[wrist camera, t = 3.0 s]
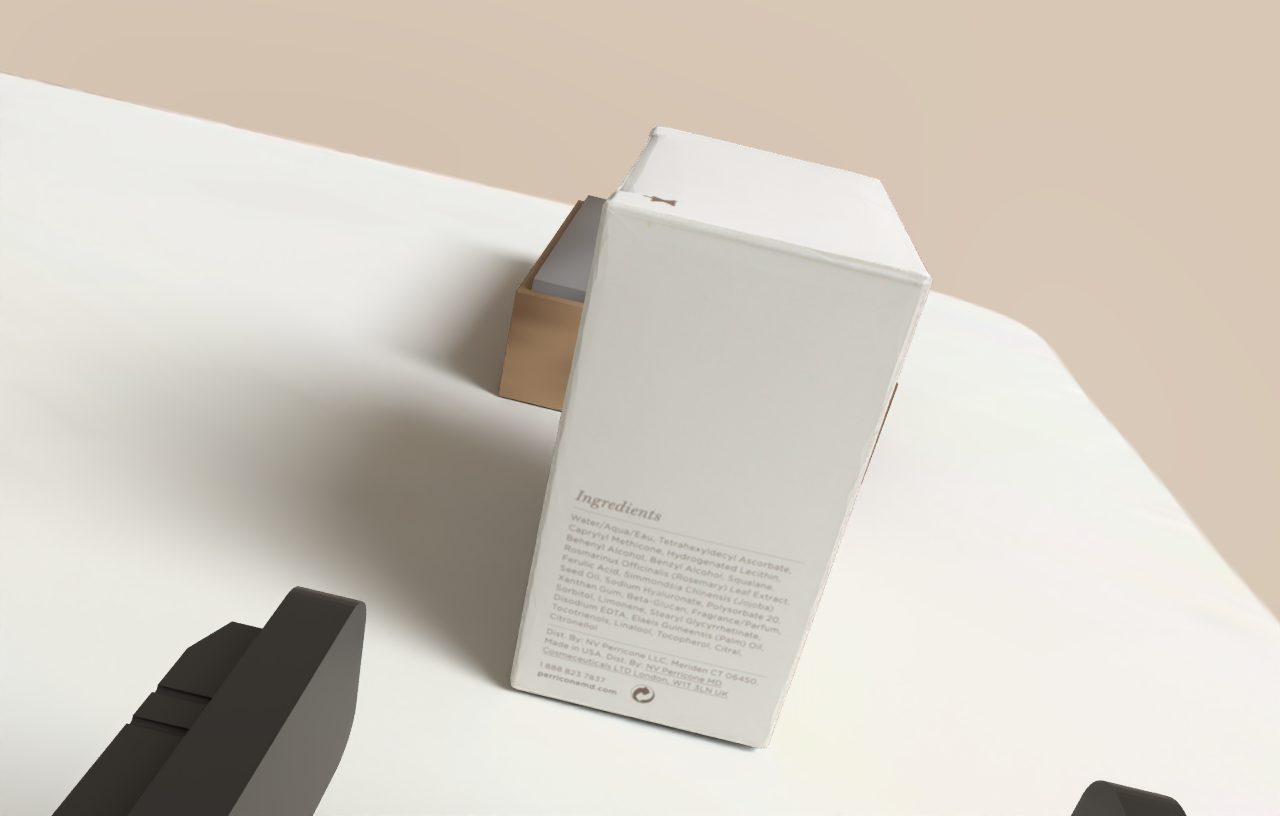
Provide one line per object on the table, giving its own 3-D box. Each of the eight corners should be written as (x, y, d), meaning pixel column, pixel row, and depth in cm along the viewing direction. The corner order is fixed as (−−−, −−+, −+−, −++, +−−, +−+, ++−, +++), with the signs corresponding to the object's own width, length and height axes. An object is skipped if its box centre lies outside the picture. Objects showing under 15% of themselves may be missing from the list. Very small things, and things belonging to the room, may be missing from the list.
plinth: (498, 395, 32) (518, 279, 30) (563, 281, 43) (580, 190, 41) (861, 484, 32) (902, 373, 30) (834, 347, 43) (863, 259, 41)
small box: (766, 762, 20) (943, 280, 16) (500, 694, 20) (600, 195, 16) (767, 548, 28) (890, 175, 23) (570, 499, 28) (654, 117, 23)
